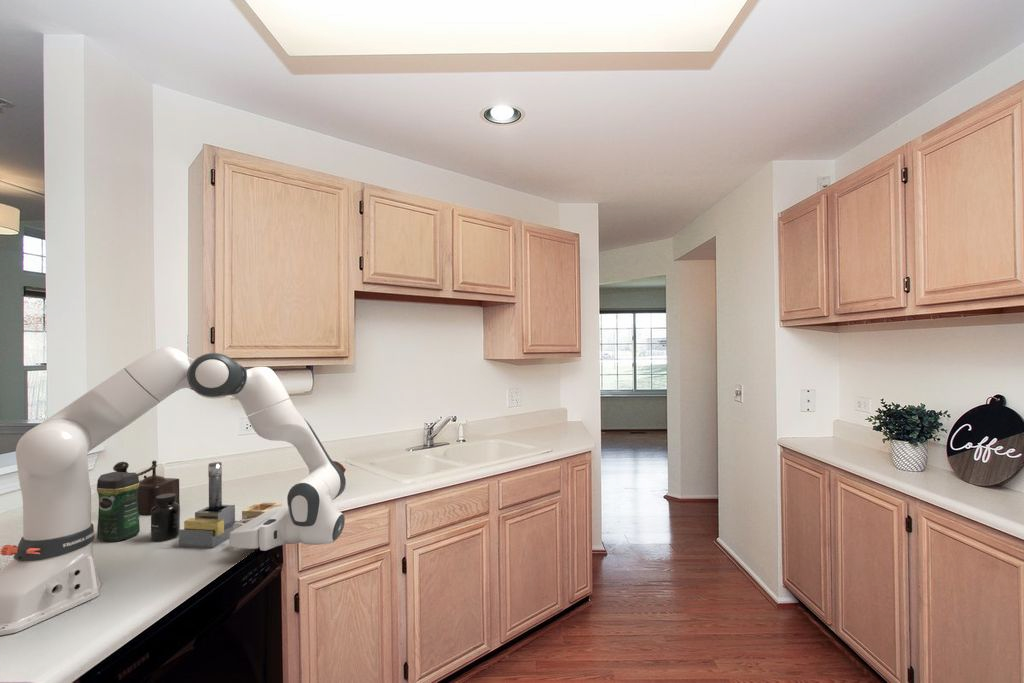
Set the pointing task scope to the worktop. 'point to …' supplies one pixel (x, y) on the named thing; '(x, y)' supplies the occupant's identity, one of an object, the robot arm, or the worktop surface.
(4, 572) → the robot arm
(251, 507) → the open box
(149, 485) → the manual coffee grinder
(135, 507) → the coffee jar
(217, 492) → the grey cylinder
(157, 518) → the supplement bottle
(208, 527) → the yellow rectangular block
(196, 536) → the socket
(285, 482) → the worktop surface
